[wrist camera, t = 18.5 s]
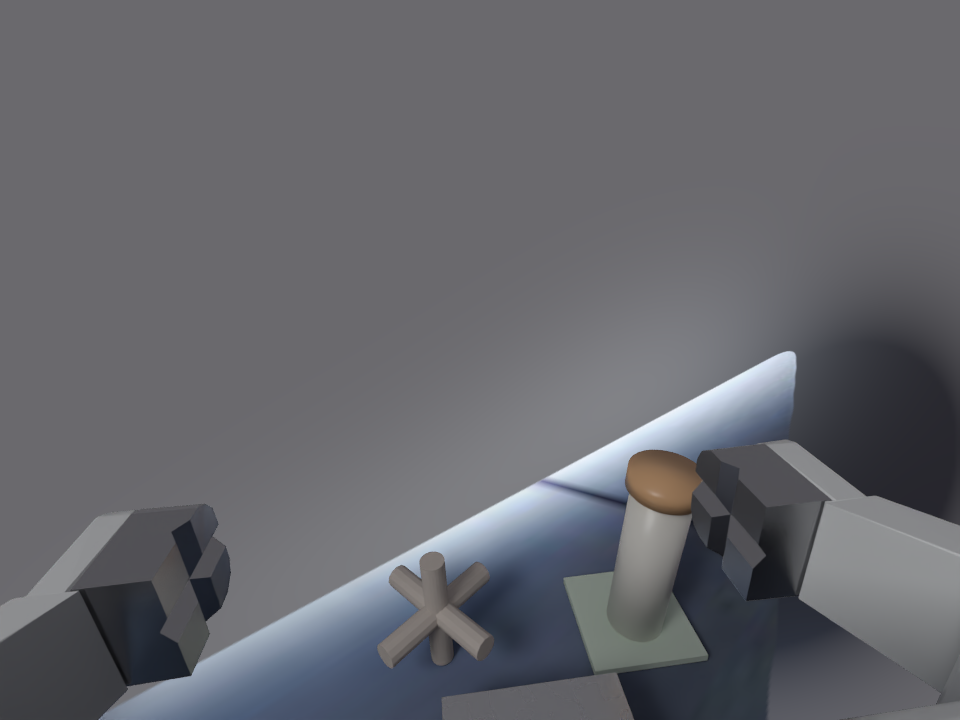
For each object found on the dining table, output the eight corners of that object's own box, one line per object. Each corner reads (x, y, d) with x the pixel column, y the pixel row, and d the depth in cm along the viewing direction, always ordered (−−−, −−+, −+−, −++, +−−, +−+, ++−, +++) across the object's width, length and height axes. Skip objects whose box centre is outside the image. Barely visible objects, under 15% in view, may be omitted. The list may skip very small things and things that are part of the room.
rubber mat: (594, 676, 38) (595, 671, 38) (563, 582, 46) (563, 577, 46) (707, 660, 39) (708, 655, 38) (656, 570, 47) (657, 565, 47)
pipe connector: (445, 584, 47) (436, 498, 43) (529, 649, 40) (528, 554, 36) (355, 660, 40) (335, 567, 36) (438, 752, 34) (425, 651, 30)
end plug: (611, 648, 39) (643, 498, 33) (593, 590, 44) (618, 450, 37) (678, 646, 39) (723, 497, 33) (653, 588, 44) (687, 449, 38)
